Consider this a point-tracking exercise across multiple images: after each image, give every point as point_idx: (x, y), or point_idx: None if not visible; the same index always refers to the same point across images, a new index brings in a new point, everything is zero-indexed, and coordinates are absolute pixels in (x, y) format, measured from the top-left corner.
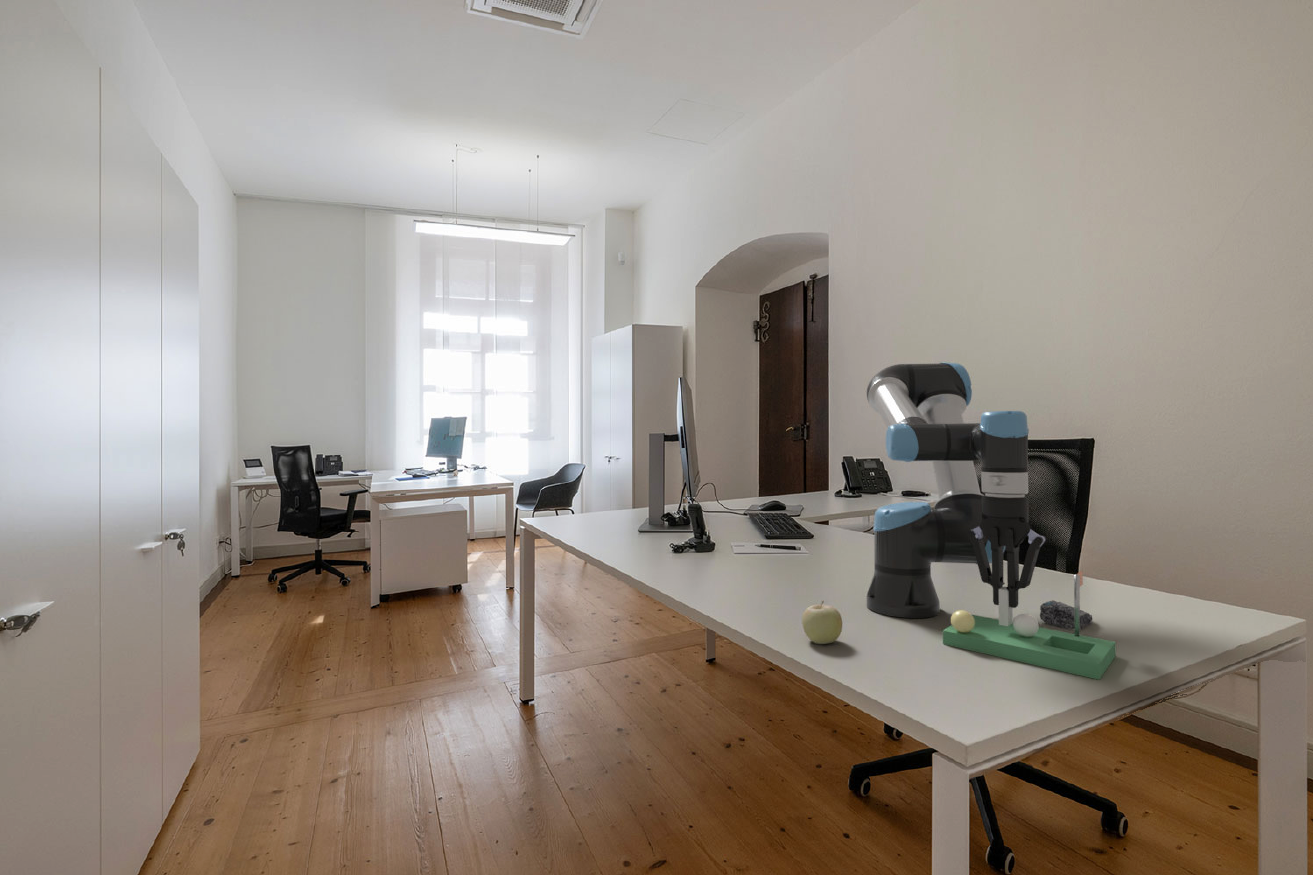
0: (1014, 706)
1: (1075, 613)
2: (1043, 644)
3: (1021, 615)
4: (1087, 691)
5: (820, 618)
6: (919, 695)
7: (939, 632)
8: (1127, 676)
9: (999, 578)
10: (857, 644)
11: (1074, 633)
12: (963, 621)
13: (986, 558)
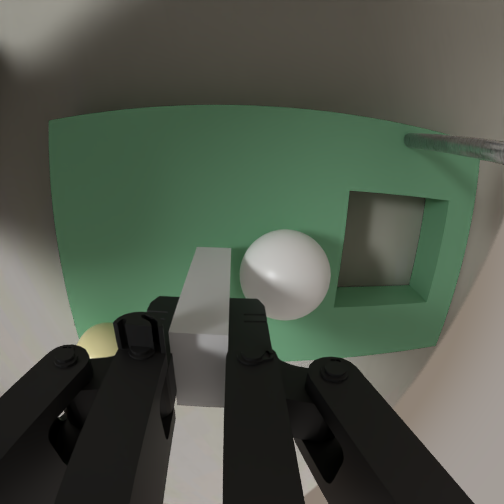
0: (302, 471)
1: (454, 152)
2: (334, 294)
3: (278, 309)
4: (393, 386)
5: None
6: (202, 493)
7: (43, 247)
8: (463, 271)
9: (168, 445)
10: None
11: (407, 142)
12: None
13: (7, 491)
